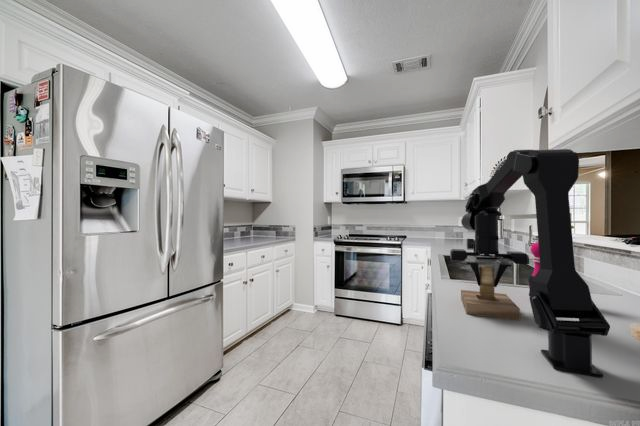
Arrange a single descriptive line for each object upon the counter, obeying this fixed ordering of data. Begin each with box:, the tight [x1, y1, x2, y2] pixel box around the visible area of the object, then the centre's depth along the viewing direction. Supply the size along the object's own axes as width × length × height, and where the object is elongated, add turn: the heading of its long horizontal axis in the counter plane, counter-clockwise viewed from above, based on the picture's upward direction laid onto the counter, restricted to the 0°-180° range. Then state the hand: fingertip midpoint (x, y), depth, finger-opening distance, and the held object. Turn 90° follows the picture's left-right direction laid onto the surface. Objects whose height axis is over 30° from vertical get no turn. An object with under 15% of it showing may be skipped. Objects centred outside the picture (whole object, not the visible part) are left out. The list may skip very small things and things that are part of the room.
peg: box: [478, 265, 495, 297], centre depth 77 cm, size 4×4×8 cm
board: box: [460, 289, 521, 321], centre depth 77 cm, size 14×12×3 cm
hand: (486, 286), depth 77 cm, fingers closed on peg, 4 cm apart
